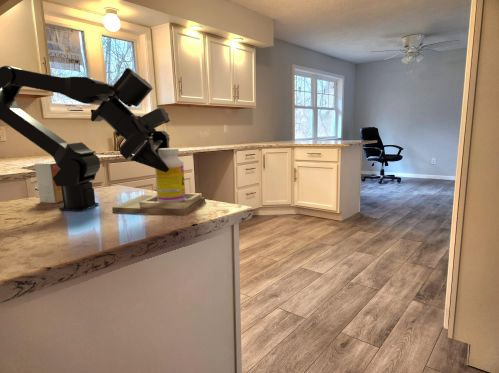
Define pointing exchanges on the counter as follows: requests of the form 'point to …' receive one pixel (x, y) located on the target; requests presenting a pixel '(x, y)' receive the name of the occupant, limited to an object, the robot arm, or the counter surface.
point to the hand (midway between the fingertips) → (173, 168)
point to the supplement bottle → (170, 177)
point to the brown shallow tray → (160, 205)
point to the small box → (48, 182)
